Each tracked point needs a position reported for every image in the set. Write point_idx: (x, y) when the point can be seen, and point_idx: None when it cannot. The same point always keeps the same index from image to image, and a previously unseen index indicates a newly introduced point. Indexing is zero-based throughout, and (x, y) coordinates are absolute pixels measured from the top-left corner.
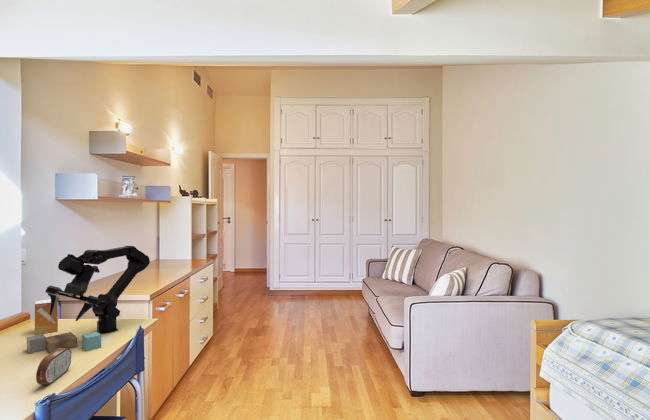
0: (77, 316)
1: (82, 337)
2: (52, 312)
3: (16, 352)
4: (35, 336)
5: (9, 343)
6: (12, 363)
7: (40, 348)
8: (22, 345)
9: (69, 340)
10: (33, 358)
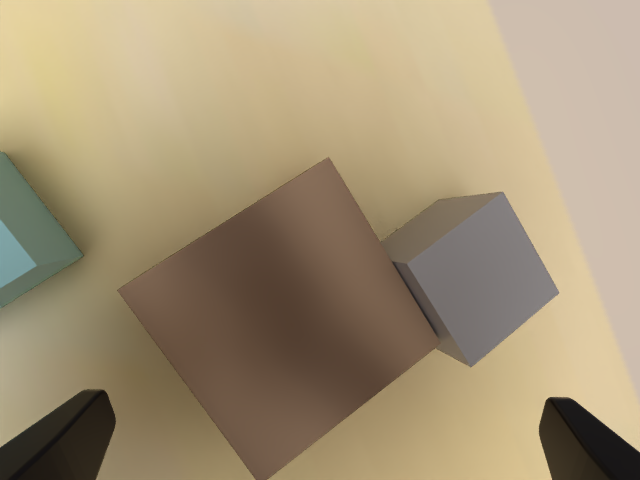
0: (45, 442)
1: (40, 254)
2: (561, 473)
3: None
4: (501, 300)
5: (629, 426)
6: (469, 40)
7: (399, 236)
8: (546, 378)
9: (184, 248)
10: (379, 96)
